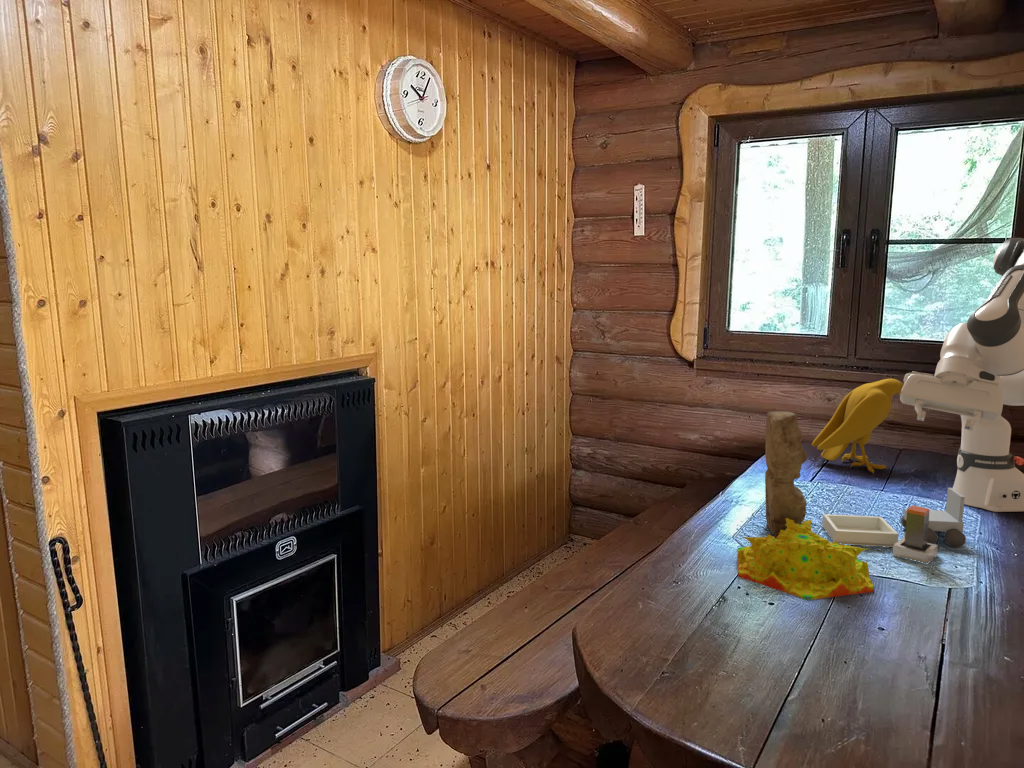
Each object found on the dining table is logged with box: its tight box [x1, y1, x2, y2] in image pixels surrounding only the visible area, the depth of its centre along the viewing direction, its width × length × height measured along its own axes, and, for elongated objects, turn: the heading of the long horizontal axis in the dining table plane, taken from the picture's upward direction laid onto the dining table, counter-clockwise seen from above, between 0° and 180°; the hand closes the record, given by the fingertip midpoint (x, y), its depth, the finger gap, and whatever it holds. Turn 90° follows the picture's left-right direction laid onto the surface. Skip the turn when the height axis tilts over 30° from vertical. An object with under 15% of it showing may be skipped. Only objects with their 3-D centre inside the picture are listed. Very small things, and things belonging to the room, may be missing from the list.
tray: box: [821, 513, 899, 548], centre depth 169 cm, size 14×12×3 cm
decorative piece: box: [737, 518, 875, 601], centre depth 151 cm, size 26×8×30 cm
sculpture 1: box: [764, 410, 808, 538], centre depth 171 cm, size 12×9×30 cm
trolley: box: [900, 487, 967, 548], centre depth 167 cm, size 10×11×12 cm
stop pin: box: [904, 504, 931, 551], centre depth 157 cm, size 4×4×11 cm
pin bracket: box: [891, 536, 939, 564], centre depth 158 cm, size 7×7×2 cm
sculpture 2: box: [811, 378, 904, 474], centre depth 229 cm, size 20×27×30 cm
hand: (944, 423), depth 159 cm, fingers open, 8 cm apart
